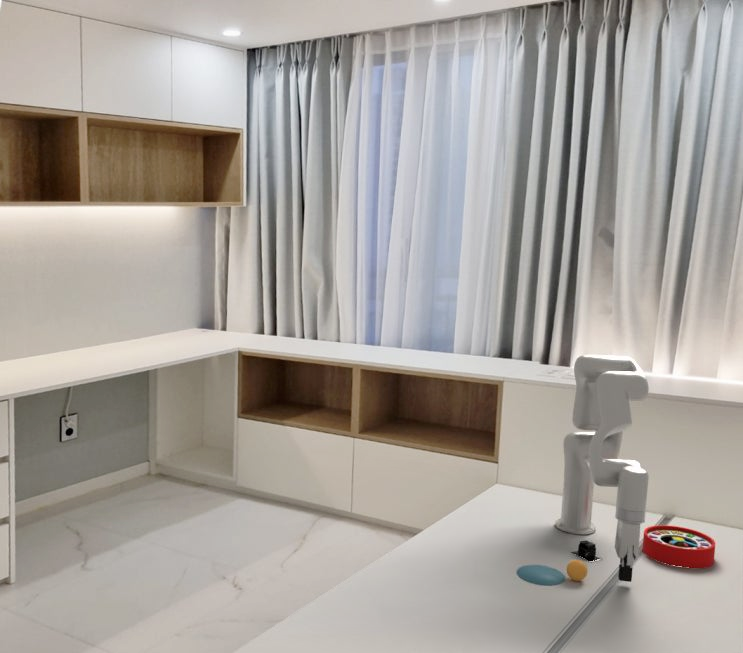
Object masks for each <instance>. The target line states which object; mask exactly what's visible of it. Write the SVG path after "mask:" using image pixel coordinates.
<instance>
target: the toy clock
mask: <svg viewBox="0 0 743 653" xmlns="http://www.w3.org/2000/svg"><path fill="white" fill-rule="evenodd" d="M641 549H642V552H643V554H644V555H645V556H647V557H648V558H649V559H651V558H652V560H653V559H655V560H657V561H656V562H658V561H659V563H660V562H663V563H666V564H665V565H667V564H669V565H668V566H670V565H675V566H682V567H689V568H688V569H690V568H700V569H705V567H707V568H710V567H711V566H713V565H714V562H715V554H716V542H715V540H714V539H713V538H712V537H711V536H709V535H707V534H705V533H703V532H701V531H698V530H695V529H691V528H686V527H681V526H675V525H669V524H667V525H665V524H663V525H662V524H661V525H660V524H659V525H651V526H648V527H645V529H644V530H643V539H642V548H641ZM655 560H654V561H655ZM663 563H662V564H663ZM675 566H674V567H675Z"/></svg>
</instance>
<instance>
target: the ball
mask: <svg viewBox="0 0 743 653" xmlns="http://www.w3.org/2000/svg"><path fill="white" fill-rule="evenodd" d="M566 574H567V576H568V578H570V580H573V581H574V582H580V581H583V580H585V578H586V577H587V575H588V567H587V565H586V564H585V562H584V561H582V560H580V559H572V560H571V561H569V562H568V563H567V565H566Z"/></svg>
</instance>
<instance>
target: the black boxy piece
mask: <svg viewBox="0 0 743 653" xmlns="http://www.w3.org/2000/svg"><path fill="white" fill-rule="evenodd" d="M570 553H571V554H573V555H575V554H576V555H575V556H577V555H578V556H577V557H579V556H581V557H583V558H585V559H586V561H587V560H588V562H589V561H593V560H594V561H595V560H597V559H601V558H600V557H598V556H596V554H597V547H596V543H593V542H592V541H589V540H586V539H585V540H582V541H579V544H578V548H577V550H576V551H571V552H570ZM581 557H580V558H581ZM583 558H582V559H583ZM585 559H584V560H585ZM595 562H596V561H595Z"/></svg>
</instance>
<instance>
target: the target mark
mask: <svg viewBox="0 0 743 653" xmlns="http://www.w3.org/2000/svg"><path fill="white" fill-rule="evenodd" d="M516 574H517V576H518V577H519V578H520V579H522V580H523V581H525V582H529V583H531V584H535V585H539V586H556V585H561V584H562V583H564V582H565V581H566V576H565V574H564V573H563V572H562V571H560V570H558V569H556V568H553V567H551V566H547V565H541V564H527V565H521V566H520V567H518V568H517V570H516Z"/></svg>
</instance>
